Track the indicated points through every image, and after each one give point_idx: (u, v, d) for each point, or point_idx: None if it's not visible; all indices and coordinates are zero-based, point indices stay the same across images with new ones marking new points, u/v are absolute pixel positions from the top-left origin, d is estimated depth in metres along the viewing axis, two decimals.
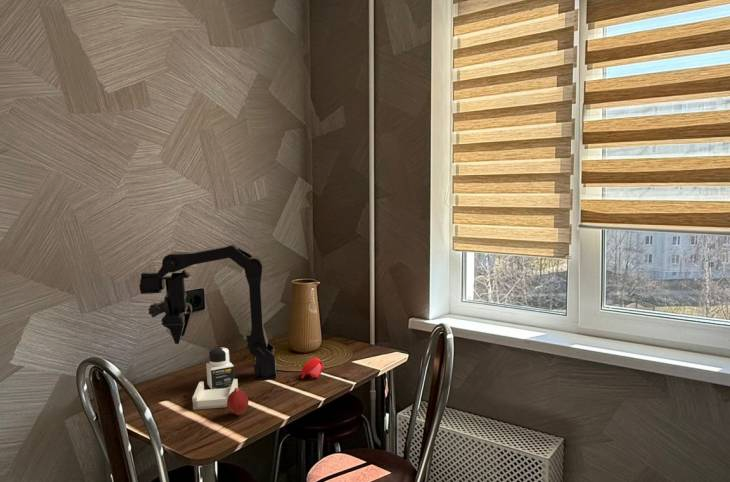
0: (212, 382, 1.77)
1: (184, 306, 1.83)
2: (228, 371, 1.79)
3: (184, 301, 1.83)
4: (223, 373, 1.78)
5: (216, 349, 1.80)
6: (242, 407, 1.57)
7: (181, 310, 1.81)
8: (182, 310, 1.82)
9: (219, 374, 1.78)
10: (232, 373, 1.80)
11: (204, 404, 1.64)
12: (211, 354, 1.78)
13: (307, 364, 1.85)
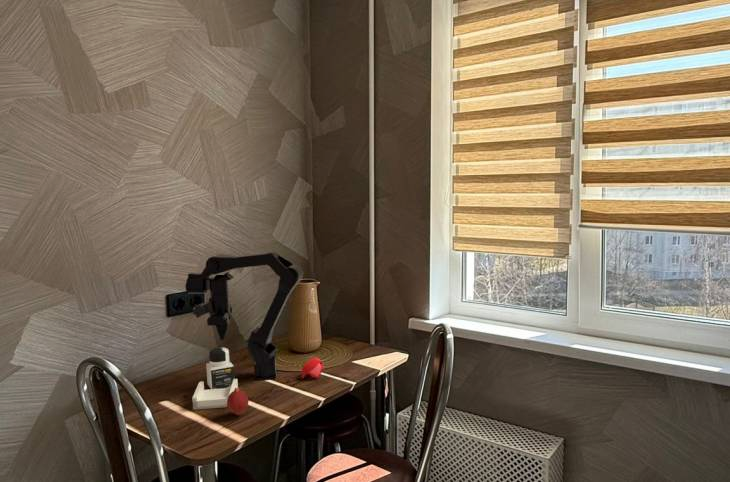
0: (212, 382, 1.77)
1: (227, 307, 1.88)
2: (228, 371, 1.79)
3: (227, 302, 1.88)
4: (223, 373, 1.78)
5: (216, 349, 1.80)
6: (242, 407, 1.57)
7: (224, 310, 1.87)
8: (225, 311, 1.87)
9: (219, 374, 1.78)
10: (232, 373, 1.80)
11: (204, 404, 1.64)
12: (211, 354, 1.78)
13: (307, 364, 1.85)
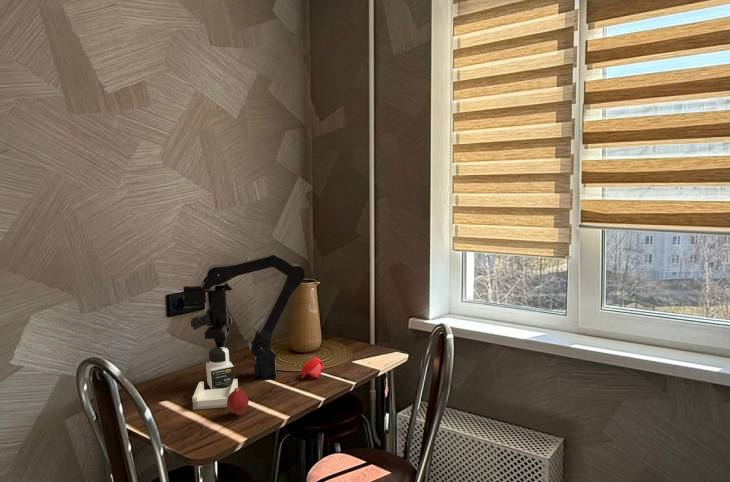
0: (212, 382, 1.77)
1: (226, 319, 1.82)
2: (228, 371, 1.79)
3: (226, 314, 1.82)
4: (223, 373, 1.78)
5: (216, 349, 1.80)
6: (242, 407, 1.57)
7: (223, 323, 1.81)
8: (224, 323, 1.81)
9: (219, 374, 1.78)
10: (232, 373, 1.79)
11: (204, 404, 1.64)
12: (211, 354, 1.78)
13: (307, 364, 1.85)
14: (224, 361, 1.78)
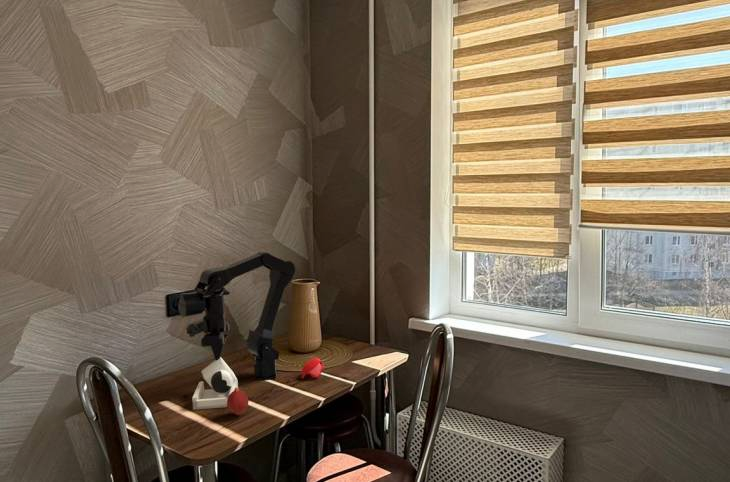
0: None
1: (223, 325, 1.75)
2: None
3: (223, 320, 1.75)
4: None
5: (220, 385, 1.67)
6: (242, 407, 1.57)
7: (220, 329, 1.74)
8: (221, 330, 1.74)
9: None
10: None
11: (204, 404, 1.64)
12: (217, 392, 1.68)
13: (307, 364, 1.85)
14: None
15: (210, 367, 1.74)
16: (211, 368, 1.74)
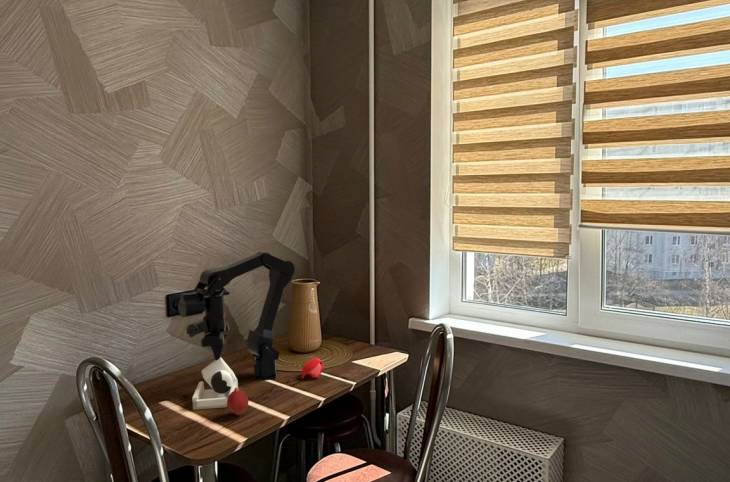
0: None
1: (223, 326, 1.75)
2: None
3: (223, 320, 1.75)
4: None
5: (220, 385, 1.67)
6: (242, 407, 1.57)
7: (220, 330, 1.74)
8: (221, 330, 1.74)
9: None
10: None
11: (204, 404, 1.64)
12: (217, 392, 1.68)
13: (307, 364, 1.85)
14: None
15: (210, 367, 1.74)
16: (211, 368, 1.74)
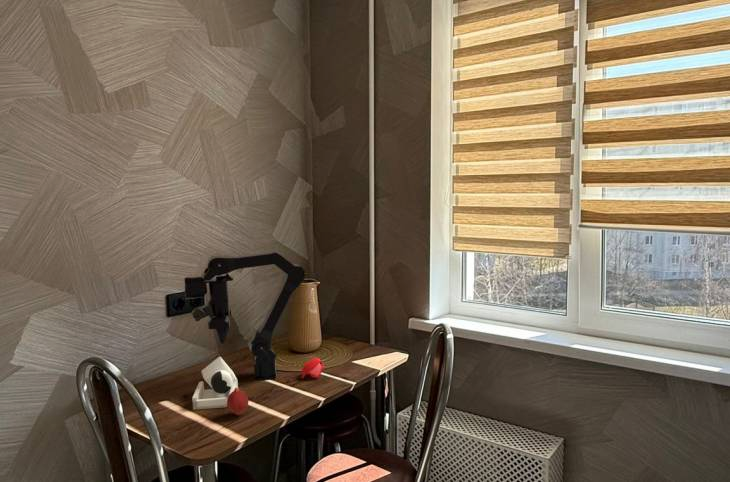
0: None
1: (228, 309, 1.82)
2: None
3: (228, 304, 1.82)
4: None
5: (220, 385, 1.67)
6: (242, 407, 1.57)
7: (225, 313, 1.80)
8: (226, 313, 1.81)
9: None
10: None
11: (204, 404, 1.64)
12: (217, 392, 1.68)
13: (307, 364, 1.85)
14: None
15: (210, 367, 1.74)
16: (211, 368, 1.74)
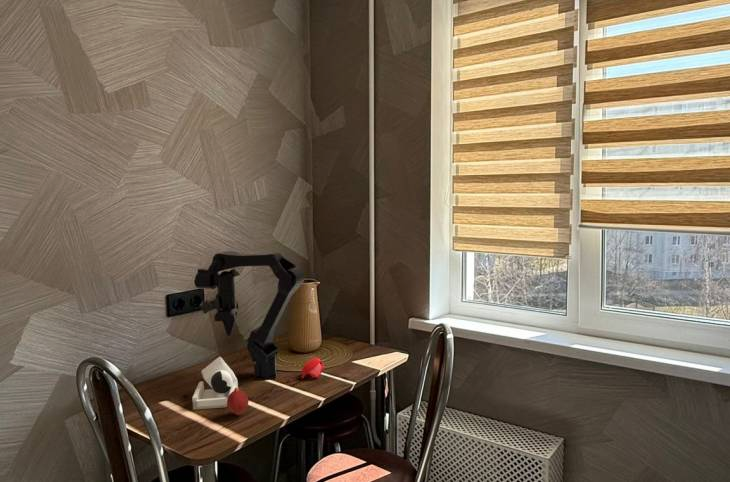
0: None
1: (234, 303, 1.90)
2: None
3: (234, 298, 1.90)
4: None
5: (220, 385, 1.67)
6: (242, 407, 1.57)
7: (231, 306, 1.89)
8: (232, 307, 1.89)
9: None
10: None
11: (204, 404, 1.64)
12: (217, 392, 1.68)
13: (307, 364, 1.85)
14: None
15: (210, 367, 1.74)
16: (211, 368, 1.74)
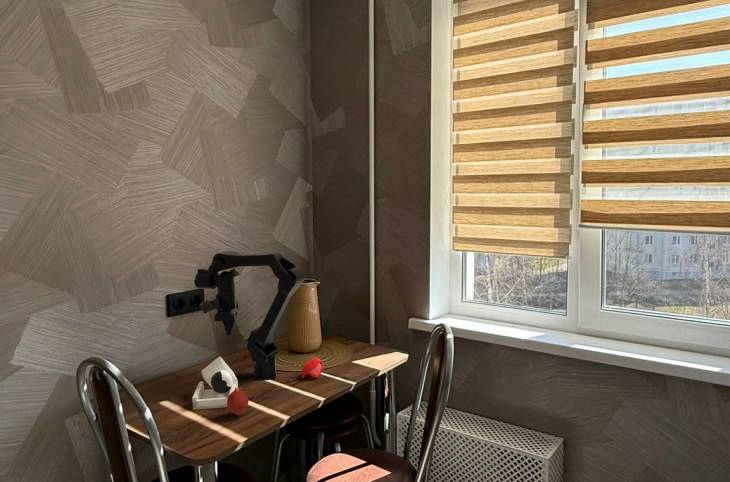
0: None
1: (234, 303, 1.90)
2: None
3: (234, 298, 1.90)
4: None
5: (220, 385, 1.67)
6: (242, 407, 1.57)
7: (231, 306, 1.89)
8: (232, 307, 1.89)
9: None
10: None
11: (204, 404, 1.64)
12: (217, 392, 1.68)
13: (307, 364, 1.85)
14: None
15: (210, 367, 1.74)
16: (211, 368, 1.74)
